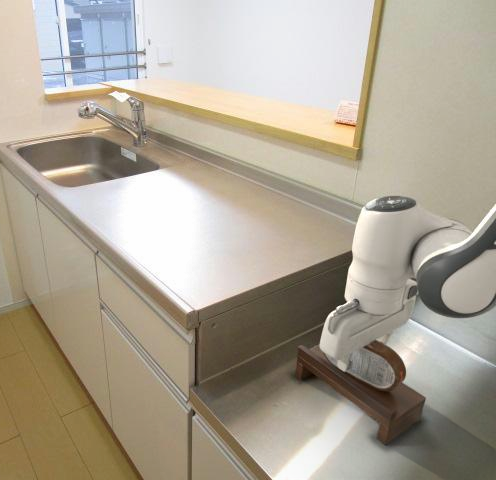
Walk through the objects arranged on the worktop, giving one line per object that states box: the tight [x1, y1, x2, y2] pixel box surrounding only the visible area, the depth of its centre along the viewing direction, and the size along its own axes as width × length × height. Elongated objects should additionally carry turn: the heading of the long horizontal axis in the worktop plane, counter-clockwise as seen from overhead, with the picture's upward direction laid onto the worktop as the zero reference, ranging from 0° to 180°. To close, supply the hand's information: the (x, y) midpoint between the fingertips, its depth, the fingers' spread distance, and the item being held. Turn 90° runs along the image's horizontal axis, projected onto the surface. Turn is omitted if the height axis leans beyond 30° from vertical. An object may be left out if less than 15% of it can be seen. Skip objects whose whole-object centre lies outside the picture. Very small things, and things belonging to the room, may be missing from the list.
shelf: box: [294, 343, 427, 446], centre depth 83 cm, size 10×20×7 cm, turn 32°
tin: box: [323, 340, 407, 391], centre depth 80 cm, size 15×3×8 cm, turn 41°
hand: (361, 358), depth 80 cm, fingers open, 8 cm apart
